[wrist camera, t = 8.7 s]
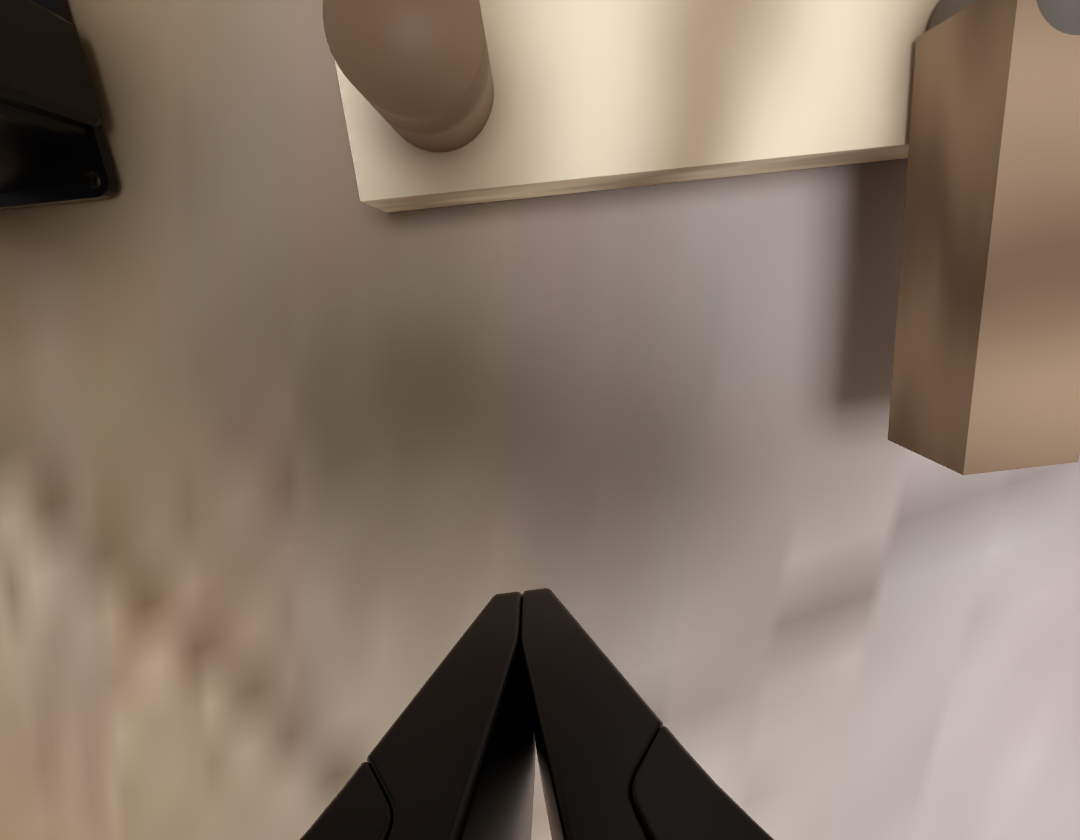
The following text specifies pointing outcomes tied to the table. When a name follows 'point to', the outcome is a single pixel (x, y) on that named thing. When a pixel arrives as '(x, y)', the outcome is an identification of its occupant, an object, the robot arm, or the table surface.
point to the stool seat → (614, 92)
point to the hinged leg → (992, 240)
